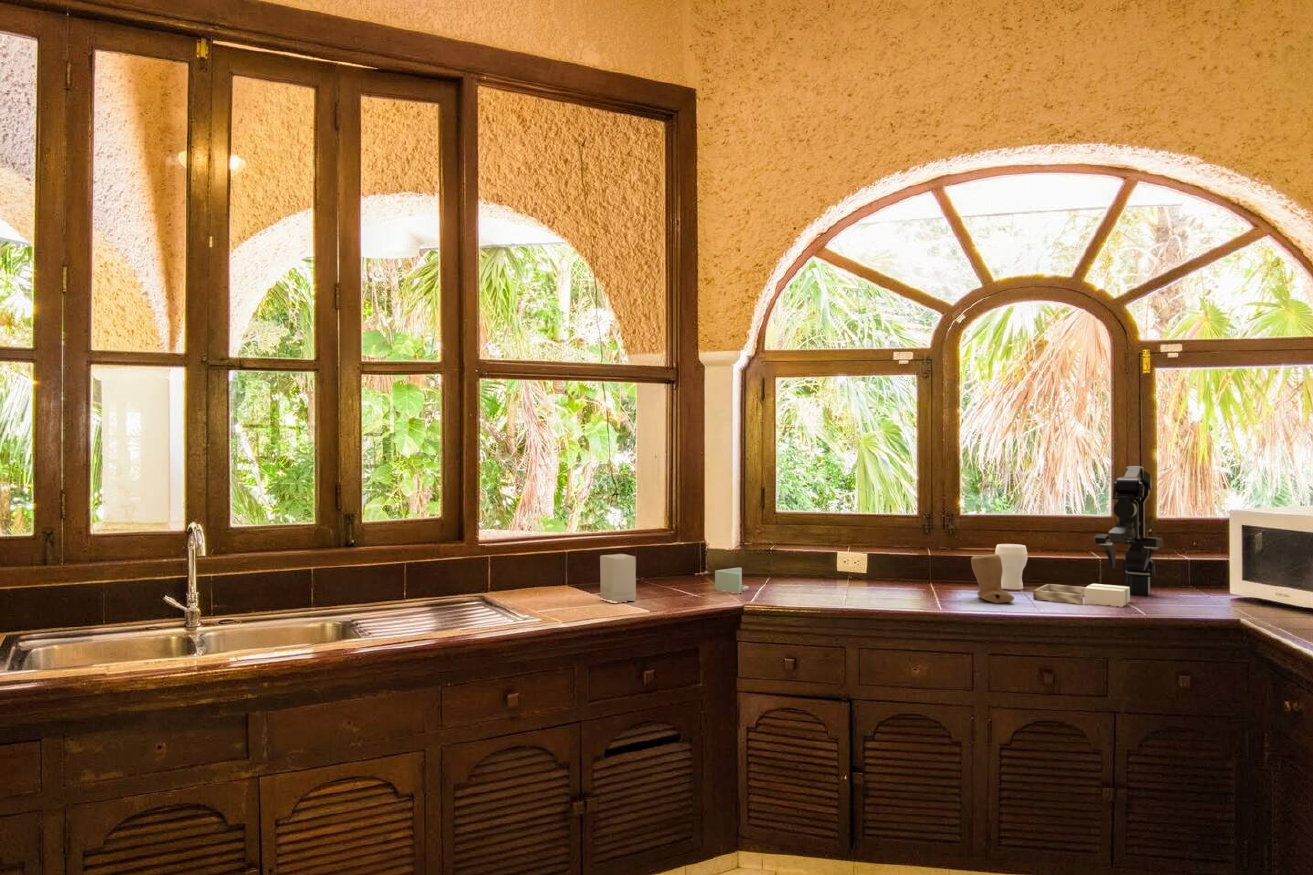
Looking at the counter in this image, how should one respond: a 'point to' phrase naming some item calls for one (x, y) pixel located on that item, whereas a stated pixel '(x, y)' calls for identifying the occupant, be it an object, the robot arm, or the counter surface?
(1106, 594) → the carton
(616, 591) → the supplement box
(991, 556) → the brown boot
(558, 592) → the counter surface
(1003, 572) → the cup
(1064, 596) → the tan tray
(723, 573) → the sage green wedge block
